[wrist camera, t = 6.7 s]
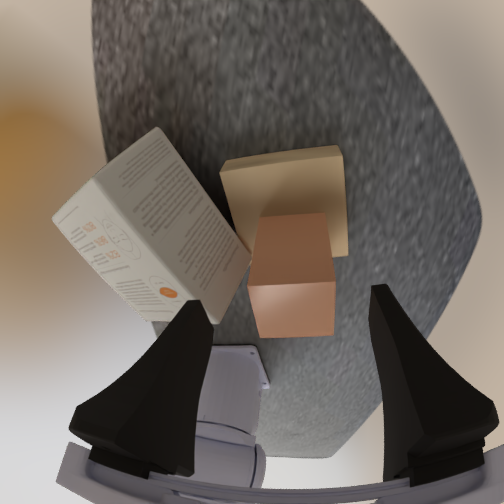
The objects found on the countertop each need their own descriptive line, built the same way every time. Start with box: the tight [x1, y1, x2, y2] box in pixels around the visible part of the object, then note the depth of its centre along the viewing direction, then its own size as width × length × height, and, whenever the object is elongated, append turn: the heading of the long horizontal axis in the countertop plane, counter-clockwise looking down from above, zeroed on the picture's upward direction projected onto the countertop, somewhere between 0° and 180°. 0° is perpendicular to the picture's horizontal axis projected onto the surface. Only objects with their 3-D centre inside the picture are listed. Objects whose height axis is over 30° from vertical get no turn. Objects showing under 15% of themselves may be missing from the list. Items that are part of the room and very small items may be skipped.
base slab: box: [219, 145, 348, 265], centre depth 19 cm, size 7×7×2 cm
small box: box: [52, 127, 252, 324], centre depth 18 cm, size 8×6×10 cm
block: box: [247, 212, 336, 338], centre depth 17 cm, size 4×4×6 cm
